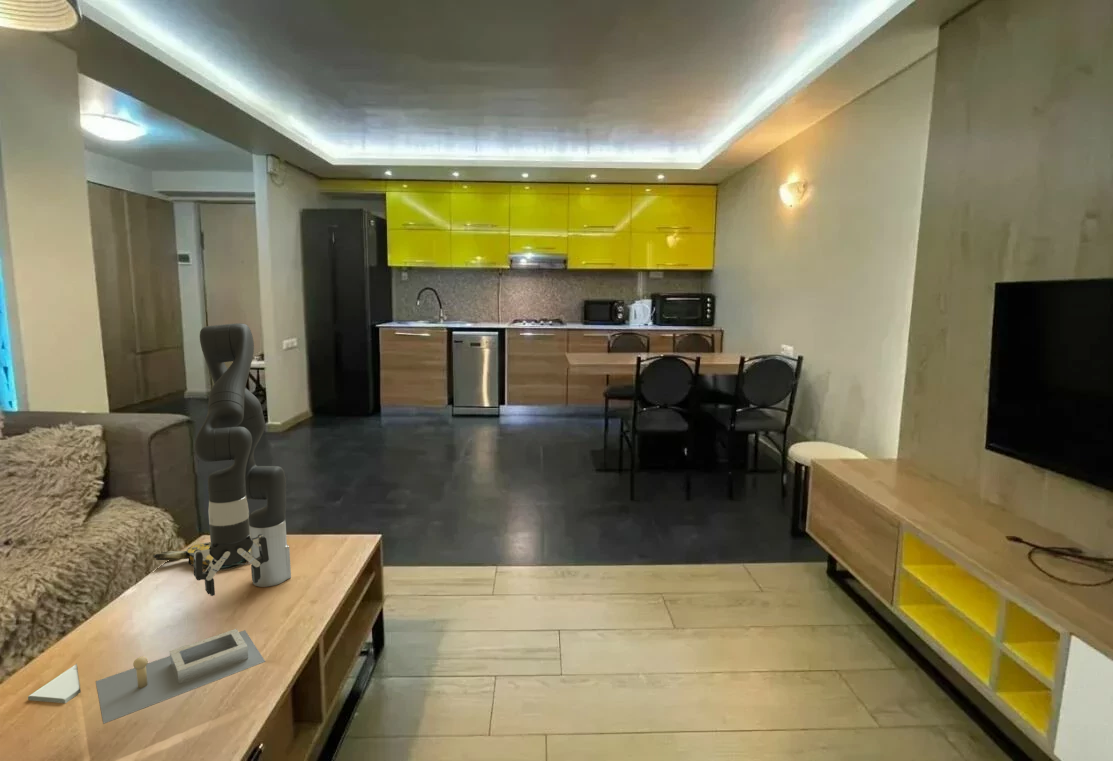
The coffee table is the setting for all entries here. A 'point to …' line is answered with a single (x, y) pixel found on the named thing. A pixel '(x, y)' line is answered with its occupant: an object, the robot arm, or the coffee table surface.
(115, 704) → the board
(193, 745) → the coffee table surface
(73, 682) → the external hard drive
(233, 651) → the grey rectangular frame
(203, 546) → the pulley block
